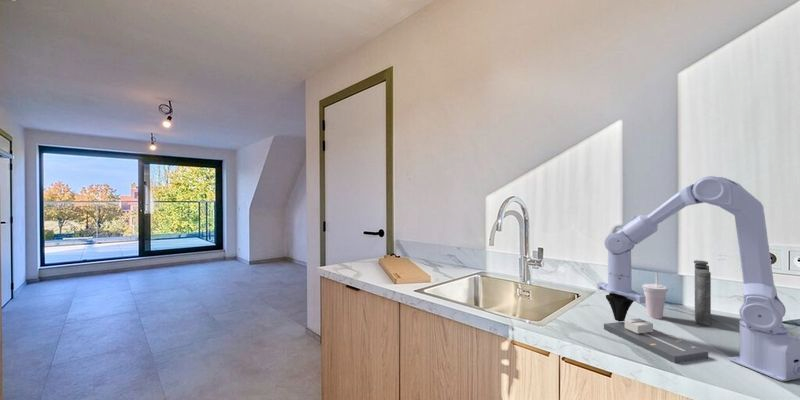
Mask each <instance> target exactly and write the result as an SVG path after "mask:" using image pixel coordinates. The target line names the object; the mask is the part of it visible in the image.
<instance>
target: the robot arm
mask: <svg viewBox="0 0 800 400" xmlns="http://www.w3.org/2000/svg"><path fill="white" fill-rule="evenodd" d="M698 204H699V205H700V204H709V205H712V206H716V207H718V208H719V207H720V208H721V209H722V210H724V211H726V212H728V213H730V214H731V215H733V216H734V221H735V229H736V237H737V245H738V251H739V259H740V266H741V267H740V268H741V274H742V282H743V288H742V289H743V290H742V291H743V293H742V297H743V303H742V305H741V306H740V308H739V311H738V312H739V317H740V320H739V355H738V356H731V357H728V360H729V361H731V362H734V363H736V364H738V365H741V366H743V367H746V368H748V369H751V370H753V371H755V372H758V373H761V374H762V375H766V376H768V377H770V378H773V379H776V380H778V381H780V382H787V381H792V380H793V381H794V380H799V379H800V337H798V336H794V335H792V334H790V333H789V332H788V328H787V327H786V326H785V325H784V324H783V318H784V316H785V315H786V311H787V310H786V307H785V305H784V303H783V302H782V301H781V299H779V296H778V292H777V288H776V286H775V283H774V275H773V267H772V260H771V259H772V258H771V252H770V246H769V238H768V237H769V236H768V231H767V223H766V217H765V209H764V205H763V203H762V202H761V201H760V200H758V199H757V197H755V196H753V194H752V193H751V192H749V191H748V190H746V189H745V188H744V187H743V186H742V184H740V183H738V182H736V181H735V180H731V179H729V178H727V177H723V176H715V175H714V176H713V175H711V176H709V175H708V176H705V177H702V178H699V179H698V180H696V182H694V183H691V184H689V185H688V186H686V187H684V188H682V189H681V190H680V191H678V192H676V193H675V194H674V195H673V196H671V197H670V198H668V199H667V200H666V201H665V202H664V203H662V204H661V205H659V206H658V207H657V208H655V209H654V210H653V211H651V212H650V213H649V214H646V215H645V214H640V215H639V214H638V216H636V215H634V216H632V217H631V218H630V221H629V222H627V224H625V225H624V226H622V227H619V226H618V227H617V228H616V231H617V232H612V233H609V234H608V235H607V236H606V238H605V240H604V246H605V249H607V283H606V282H597V283H596V290H599V291H601V290H602V291H604V292H606V293H608V294H606V295H605V298H606V300H607V302H608V303H609V305H610V308H611V311H612V313H613V319H614V320H615V321H616V322H624V321H625V320H626V316H627V314H628V311H629V309H630V307H631V306H632V305H633V303H634V302H636V303H637V304H646V296H645V295H643V294H641V293H639V292H637V291H635V290H633V289H632V285H633V284H632V250H633V249H634V248H635V245H638V244H640V243H641V242H643V241H644V240H645V239H647V238H649V237H650V236H652V235H653V234H655V233H656V232H657V231H658V225H659V224H661V223H662V222H664V221H665V220H667V219H668V218H670V217H672V216H674V215H675V214H676V213H677V212H680V211H681V210H683V209H684V208H686V207H688V206H692V205H698Z"/></svg>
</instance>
